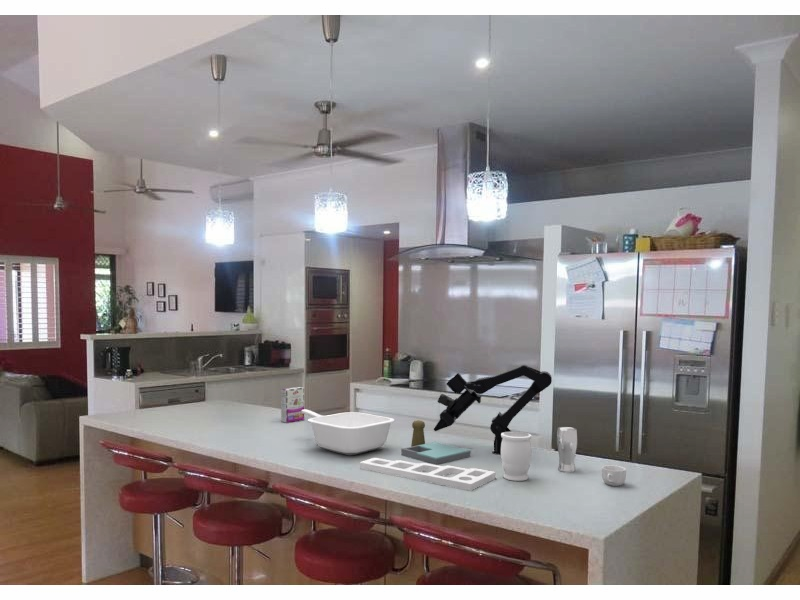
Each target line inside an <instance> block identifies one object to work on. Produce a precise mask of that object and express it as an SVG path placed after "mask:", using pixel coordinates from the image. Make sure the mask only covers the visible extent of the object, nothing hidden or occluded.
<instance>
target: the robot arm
mask: <svg viewBox="0 0 800 600" xmlns="http://www.w3.org/2000/svg"><path fill="white" fill-rule="evenodd" d="M521 377H526V378H528V379H529V380H531V381H532V383H531V384H530V386H529V387H528V389H526V390H525V391H524V392H523V394H522V395H521V396H520V397H518V399H517V400H516V401H515V402H514V403H513V404H512V405H511V406H510V407H509V408H508V409H507V410H506V411H505V412H503V413H501V411H499V412H498V413H497V414H496V416H495V417H492V419H491V424H490V426H489V427H490V429H489V430H490V431H491V432H492V434H493V435H494V440H493V450H492V451H491V454H495V453H496V454H495V455H499V454H500V456H501V443H502V439H503V438H502V437H501V433H503V432H512V430H511V429H510V428H509V425H510V423H511V421H512V420H513V419H514V418H515V417H516V416H517V415H518V414H519V413H520V412H521V411H522V410H523V409H524V408H525V407H526V406H527V405H528V404H529V403H530V402H531V401H532V399H533V398H535V397H536V395H538V394H540V393H541V392H543V391H545V390H546V389H547V388H548V387H550V385H552V380H553V379H552V375H551V374H550V373H549V371H543V370H541V371H540V370H538V369H537V368H533V367H531V366H528V365H526V364H521V365H520V366H518V367H515V368H511V369H510V370H507V371H504V372H502V373H501V372H500V373H499V374H496V375H492V376H491V375H490V376H485V377H479V378H477V379H476V380H475V381H473V380H472V381H466V380H465V378H464V377H462V375H461V374H460V373H459V372H458V373H456V374H455V375H454V376H453V377H451V378H450V379H449V380H448V381H447V382H446V383H445V385H446V386H448V388H449V389H450V390H451V391H452V392H453V393H454V394H457V395H459V396H458V397H455V399H454V398H452V397H449V396H448V395H445V394H444V393H441V394H440V395H439V396H438V399H437V403H439V404H441V405H444V406H445V407H446V408H445V409H443V411H441V412H440V413H439V420H438V422H437V423H436V425H435V427H434V428H433V431H434V432H437V431H441V430H443V429H445V428H448V427H451V426H452V425H454V423H456V420H457V419H458V418H460V417H461V415H462V414H463V413H465V412H466V411H467V409H469V407H471V406H472V405H473V404H474V403H475V402H477V403H478V404H480V403H481V402H482V395H483V394H484V393H486V392H488V391H489V390H491V389H493V388H495V387H496V386H499V385H501V384H504V383H507V382H510V381H513V380H514V379H518V378H521Z"/></svg>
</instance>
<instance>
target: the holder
mask: <svg viewBox="0 0 800 600" xmlns="http://www.w3.org/2000/svg"><path fill="white" fill-rule="evenodd" d="M360 468H361V469H360ZM402 468H403V469H402ZM359 469H360V470H365V469H366V470H365V471H370V470H372V471H371V472H374V471H376V472H375V473H379V472H381V474H384V473H386V474H385V475H389V474H391V476H394V475H396V477H399V476H402V477H401V478H404V477H407V478H406V479H409V478H412V479H411V480H414V479H416V480H415V481H419V480H421V481H420V482H424V481H427V482H426V483H429V482H432V483H431V484H434V483H437V484H436V485H439V484H442V485H441V486H444V485H446V486H445V487H449V486H451V487H450V488H454V487H456V488H455V489H459V488H460V489H461V490H464V489H465V491H469V490H470V491H469V492H471V490H472V491H474V490H475V488H476V489H478V488H479V486H480V487H482V486H483V484H484V485H486V484H488V483H489V482H491V481H493V480H495V479H496V471H493V470H492V471H491V470H486V469H480V468H476V467H471V468H464V467H459V466H453V465H440V464H437V465H436V464H432V463H429V462H420V463H417V462H412V461H406V460H400V459H396V460H389V459H385V458H380V457H371V458H370V459H369V458H368V459H366V460H363V461H360V462H359ZM421 471H422V472H421ZM427 471H430V472H427ZM449 473H450V474H449ZM446 474H447V475H453V476H451V477H450V476H449V477H448V476H447V475H446ZM454 474H455V475H454ZM443 475H445V476H443ZM487 482H488V483H487ZM481 485H482V486H481ZM477 487H478V488H477ZM460 489H459V490H460ZM473 489H474V490H473Z"/></svg>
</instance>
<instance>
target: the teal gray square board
mask: <svg viewBox="0 0 800 600" xmlns="http://www.w3.org/2000/svg"><path fill="white" fill-rule="evenodd" d="M400 451H401V452H400V453H401V456H403V457H407V458H410V457H411V459H415V460H419V461H422V462H424V463H428V464H433V465H440V464H445V463H449V462H453V460H454V461H457V460H462V459H466V458H470V457H471V450H470V449H468V448H463V447H460V446H459V447H458V446H456V445H455V446H454V445H451V444H446V443H441V442H439V441H438V442H437V441H433V442H427V443H425V444H422V445H417V446H412V447H411V446H406V447H403V448H401V449H400ZM469 456H470V457H469Z"/></svg>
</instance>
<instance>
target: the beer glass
mask: <svg viewBox="0 0 800 600" xmlns="http://www.w3.org/2000/svg"><path fill="white" fill-rule="evenodd" d="M577 431H578V430H577V428H575V427H570V426H569V427H568V426H559V427H557V433H556V434H557V435H556V436H557V437H556V444H557V446H556V447H557V451H558V452H557V453H558V466H557V470H558V471H559V472H561V471H562V472H561V473H565V472H573V473H575V472H576V466H575V465H576V464H575V457H576V452H577V447H578V434H577V433H578V432H577Z"/></svg>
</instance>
